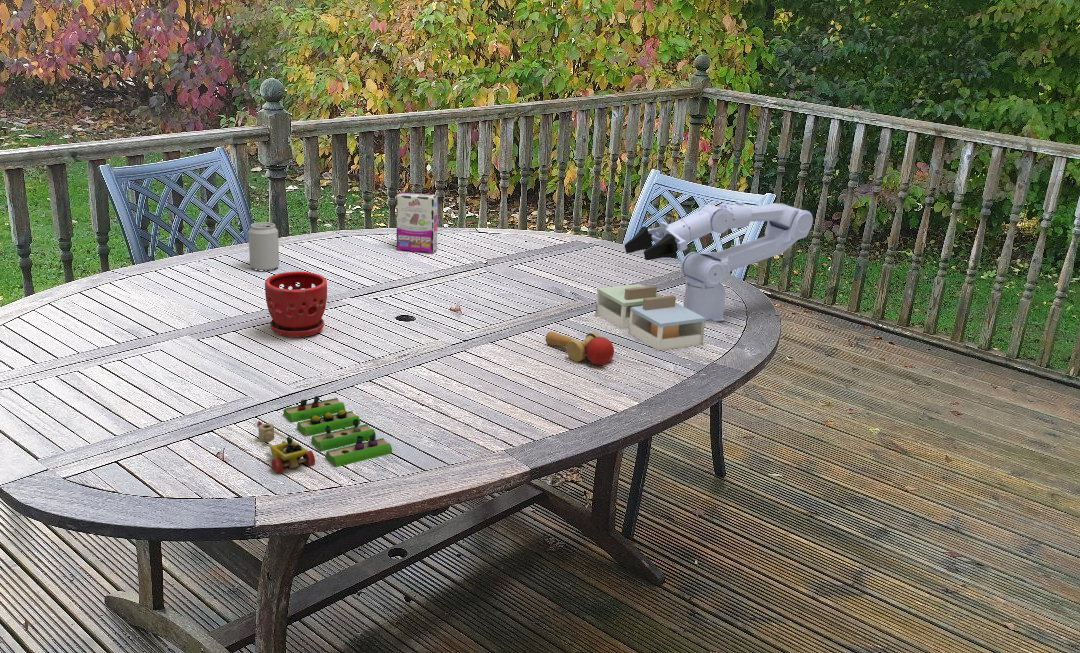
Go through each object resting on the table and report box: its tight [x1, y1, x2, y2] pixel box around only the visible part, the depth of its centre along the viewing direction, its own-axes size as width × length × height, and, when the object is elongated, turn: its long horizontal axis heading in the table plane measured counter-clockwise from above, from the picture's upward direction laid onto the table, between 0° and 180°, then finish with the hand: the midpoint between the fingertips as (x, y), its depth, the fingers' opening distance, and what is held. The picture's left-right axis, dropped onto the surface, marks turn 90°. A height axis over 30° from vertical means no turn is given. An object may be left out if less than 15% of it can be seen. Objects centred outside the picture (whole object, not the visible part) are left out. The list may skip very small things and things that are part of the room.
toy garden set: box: [257, 395, 393, 475], centre depth 165 cm, size 23×19×5 cm
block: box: [650, 322, 679, 339], centre depth 217 cm, size 4×4×4 cm
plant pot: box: [264, 270, 328, 338], centre depth 212 cm, size 13×13×12 cm
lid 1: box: [596, 283, 663, 307], centre depth 230 cm, size 12×12×3 cm
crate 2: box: [628, 311, 706, 351], centre depth 219 cm, size 12×12×6 cm
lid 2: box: [631, 294, 706, 327], centre depth 218 cm, size 12×12×3 cm
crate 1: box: [594, 291, 643, 329], centre depth 232 cm, size 12×12×6 cm
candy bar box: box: [395, 192, 439, 254], centre depth 281 cm, size 11×5×16 cm, turn 80°
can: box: [247, 221, 280, 271], centre depth 256 cm, size 8×8×12 cm
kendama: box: [545, 331, 615, 366], centre depth 208 cm, size 8×6×18 cm
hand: (635, 252), depth 221 cm, fingers open, 7 cm apart
